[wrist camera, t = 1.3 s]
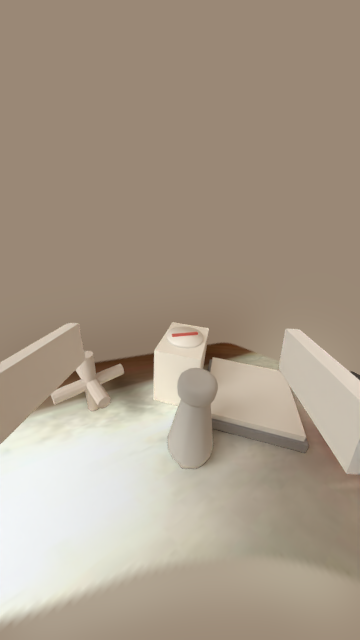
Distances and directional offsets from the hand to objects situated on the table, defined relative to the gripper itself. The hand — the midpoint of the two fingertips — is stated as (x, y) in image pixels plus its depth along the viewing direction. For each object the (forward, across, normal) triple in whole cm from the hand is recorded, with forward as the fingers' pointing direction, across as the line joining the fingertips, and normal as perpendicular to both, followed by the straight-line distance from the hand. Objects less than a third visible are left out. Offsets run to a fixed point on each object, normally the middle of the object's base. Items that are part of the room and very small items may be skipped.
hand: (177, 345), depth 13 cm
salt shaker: (+8, 0, -20) cm, 22 cm away
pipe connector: (+13, -15, -18) cm, 27 cm away
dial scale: (+19, +6, -19) cm, 28 cm away
